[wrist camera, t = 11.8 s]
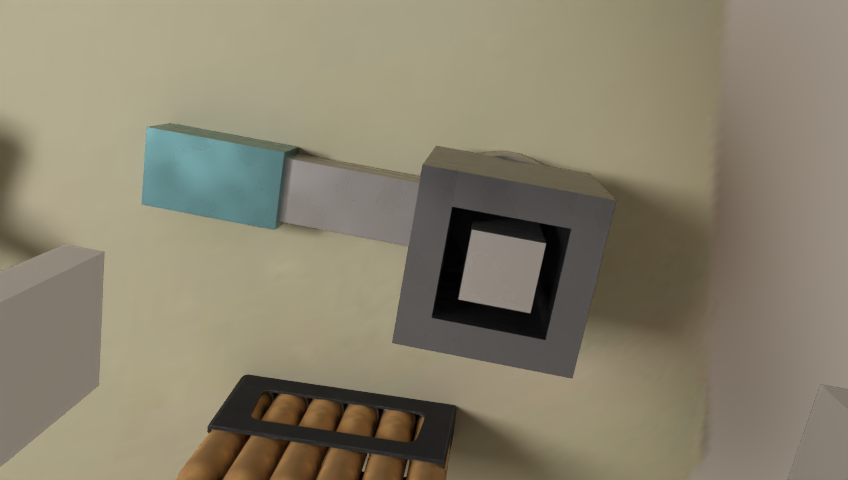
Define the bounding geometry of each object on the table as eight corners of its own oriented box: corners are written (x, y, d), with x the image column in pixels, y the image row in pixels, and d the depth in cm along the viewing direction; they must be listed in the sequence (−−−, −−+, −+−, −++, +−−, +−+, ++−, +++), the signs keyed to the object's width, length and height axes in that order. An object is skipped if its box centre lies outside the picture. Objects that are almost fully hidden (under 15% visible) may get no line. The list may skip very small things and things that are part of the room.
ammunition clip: (241, 407, 34) (114, 578, 23) (243, 373, 34) (114, 530, 22) (452, 439, 34) (432, 632, 22) (457, 405, 33) (439, 584, 22)
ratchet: (172, 90, 31) (66, 96, 23) (584, 165, 30) (618, 197, 22) (162, 226, 32) (59, 274, 25) (553, 301, 31) (574, 375, 24)
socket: (436, 145, 28) (422, 164, 22) (589, 173, 28) (616, 200, 22) (410, 290, 30) (392, 343, 24) (555, 318, 29) (572, 378, 24)
